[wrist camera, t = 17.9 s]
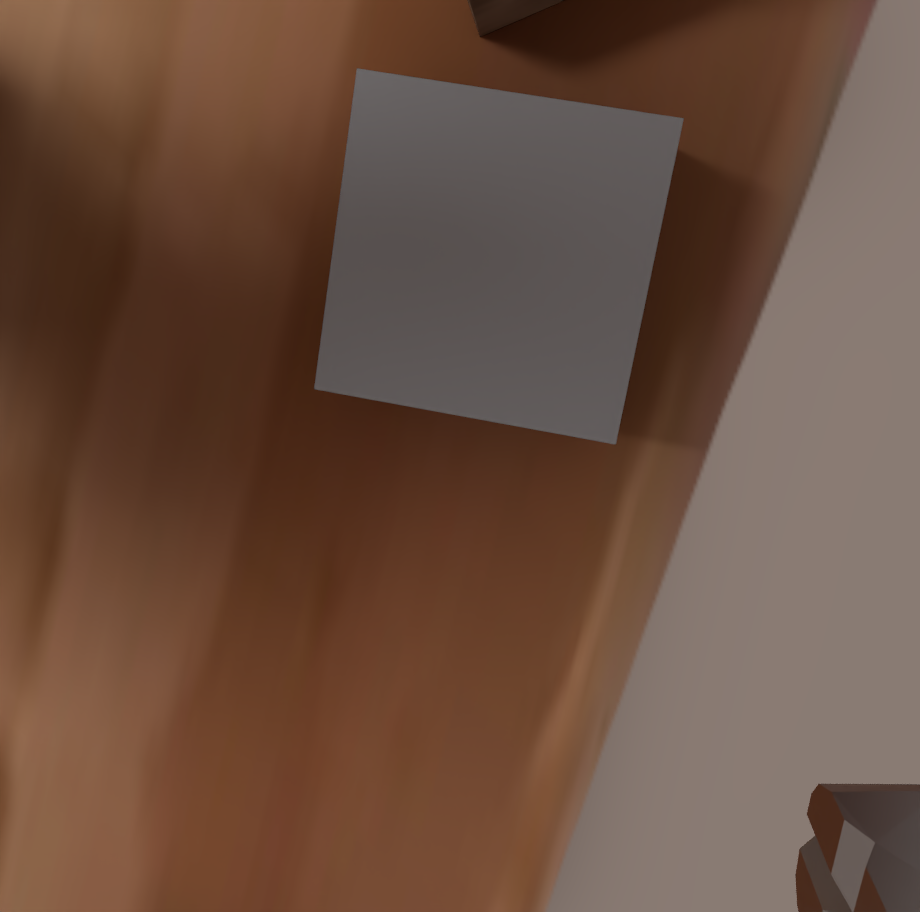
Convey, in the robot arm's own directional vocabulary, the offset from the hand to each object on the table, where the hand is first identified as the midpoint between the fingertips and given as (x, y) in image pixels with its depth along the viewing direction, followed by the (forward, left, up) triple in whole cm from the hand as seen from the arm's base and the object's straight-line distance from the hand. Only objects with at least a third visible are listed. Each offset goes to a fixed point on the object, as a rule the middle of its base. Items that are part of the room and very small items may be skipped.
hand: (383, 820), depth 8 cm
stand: (-5, +4, -30) cm, 31 cm away
